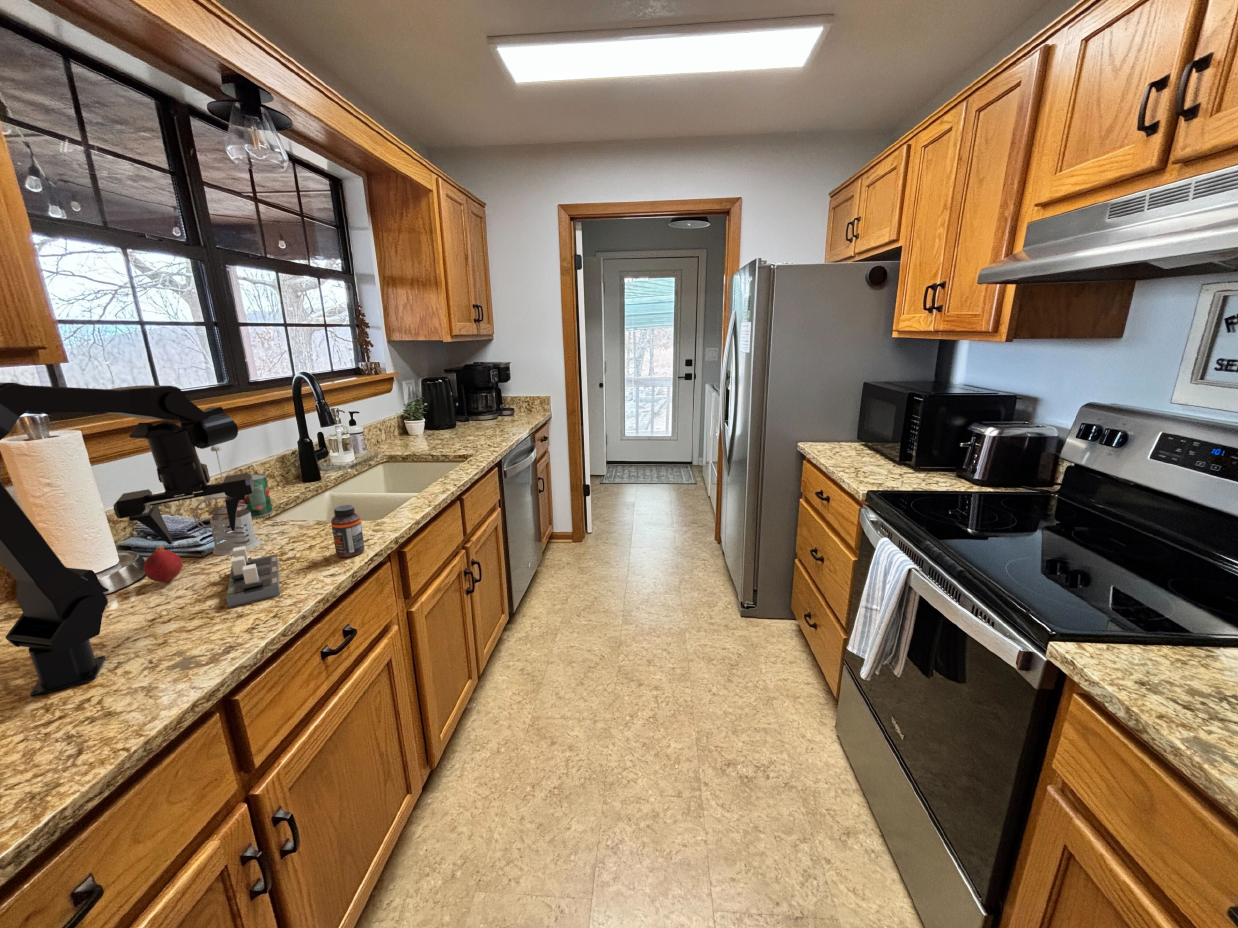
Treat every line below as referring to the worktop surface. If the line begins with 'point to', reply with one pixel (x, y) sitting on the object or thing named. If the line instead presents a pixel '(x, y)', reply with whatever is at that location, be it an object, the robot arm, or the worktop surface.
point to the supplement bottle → (347, 532)
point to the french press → (218, 531)
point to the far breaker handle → (242, 554)
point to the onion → (163, 565)
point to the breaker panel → (268, 589)
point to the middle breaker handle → (237, 567)
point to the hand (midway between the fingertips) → (203, 536)
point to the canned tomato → (258, 497)
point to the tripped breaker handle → (251, 577)
